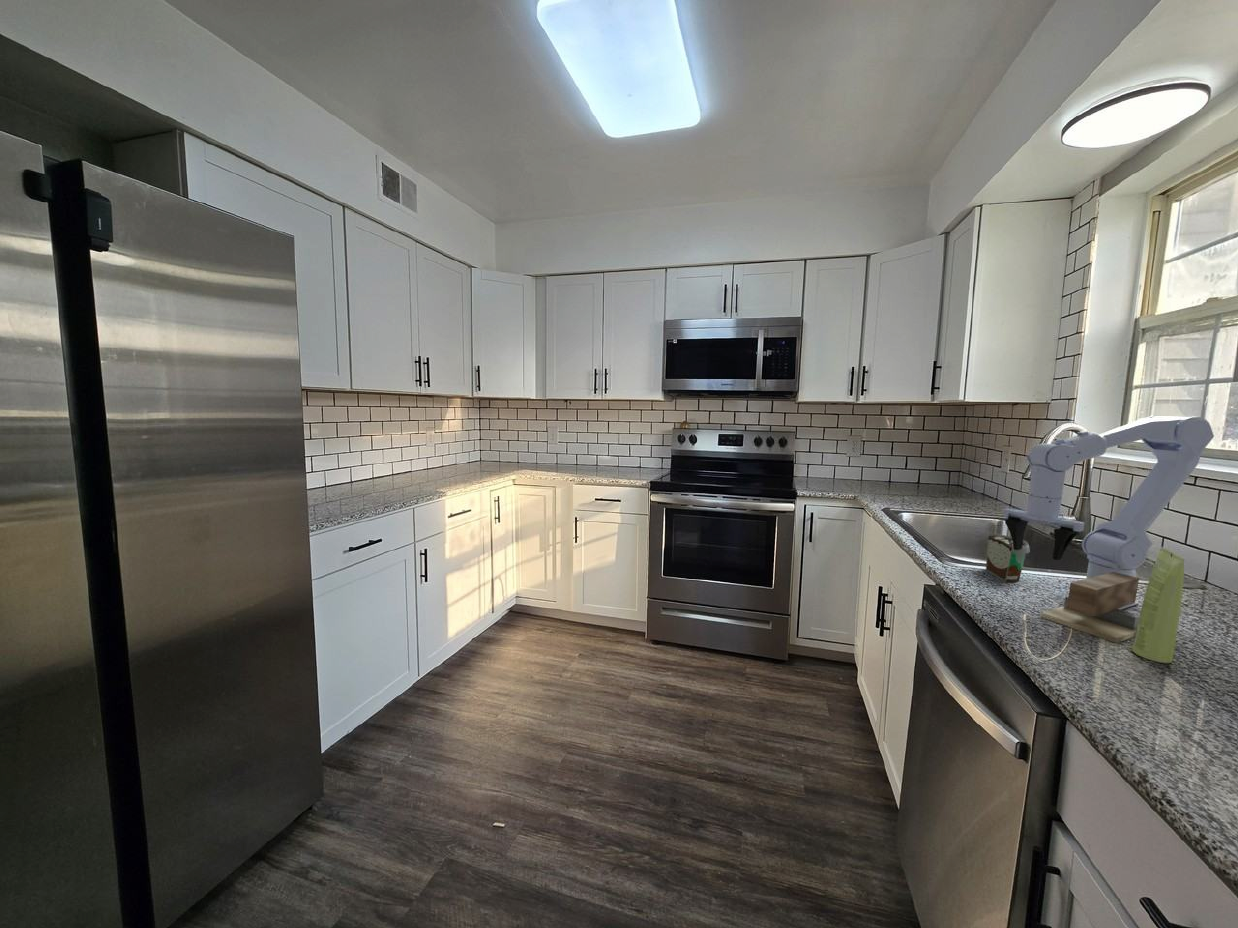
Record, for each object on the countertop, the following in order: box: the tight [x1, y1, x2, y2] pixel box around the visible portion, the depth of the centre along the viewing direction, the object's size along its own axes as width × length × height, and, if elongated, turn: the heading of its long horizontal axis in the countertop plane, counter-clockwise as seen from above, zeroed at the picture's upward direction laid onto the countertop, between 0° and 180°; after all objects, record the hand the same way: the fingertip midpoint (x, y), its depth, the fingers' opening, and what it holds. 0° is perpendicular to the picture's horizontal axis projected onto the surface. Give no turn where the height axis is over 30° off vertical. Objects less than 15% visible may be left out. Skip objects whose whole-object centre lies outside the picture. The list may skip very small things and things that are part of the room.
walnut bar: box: [1067, 572, 1140, 617], centre depth 100 cm, size 18×4×6 cm, turn 115°
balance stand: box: [1040, 595, 1140, 644], centre depth 101 cm, size 18×12×4 cm, turn 115°
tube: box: [1131, 546, 1185, 664], centre depth 85 cm, size 6×5×20 cm
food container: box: [985, 533, 1031, 583], centre depth 126 cm, size 12×6×10 cm, turn 168°
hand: (1036, 554), depth 112 cm, fingers open, 7 cm apart
